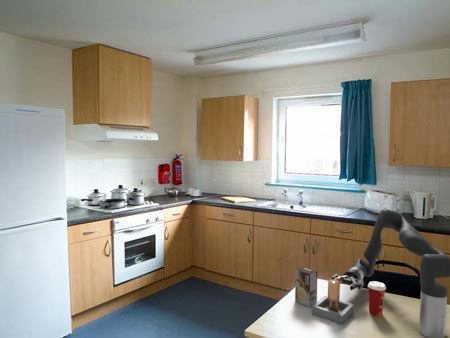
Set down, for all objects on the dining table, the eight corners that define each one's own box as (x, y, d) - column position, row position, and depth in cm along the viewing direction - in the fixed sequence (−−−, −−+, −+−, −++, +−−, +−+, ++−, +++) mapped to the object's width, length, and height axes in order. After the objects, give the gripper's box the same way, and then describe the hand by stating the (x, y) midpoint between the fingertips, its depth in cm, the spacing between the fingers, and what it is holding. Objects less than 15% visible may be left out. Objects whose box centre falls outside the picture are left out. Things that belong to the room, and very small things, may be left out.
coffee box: (317, 303, 173) (318, 271, 172) (309, 307, 169) (310, 274, 168) (302, 297, 180) (302, 266, 179) (294, 300, 176) (295, 269, 175)
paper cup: (386, 318, 159) (388, 288, 158) (368, 316, 160) (369, 286, 159) (382, 310, 167) (383, 281, 165) (365, 308, 168) (366, 280, 167)
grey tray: (353, 312, 164) (353, 304, 164) (342, 324, 153) (342, 315, 153) (324, 304, 173) (324, 296, 172) (311, 314, 162) (312, 306, 161)
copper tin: (340, 311, 163) (341, 281, 162) (336, 315, 159) (337, 285, 158) (329, 307, 166) (330, 278, 165) (325, 311, 162) (326, 282, 161)
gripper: (340, 265, 187) (327, 274, 174) (368, 272, 178) (357, 281, 165) (339, 279, 187) (327, 289, 175) (367, 286, 178) (356, 297, 166)
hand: (341, 285), depth 170 cm, fingers open, 8 cm apart
